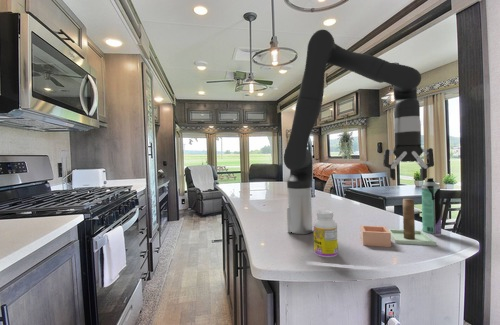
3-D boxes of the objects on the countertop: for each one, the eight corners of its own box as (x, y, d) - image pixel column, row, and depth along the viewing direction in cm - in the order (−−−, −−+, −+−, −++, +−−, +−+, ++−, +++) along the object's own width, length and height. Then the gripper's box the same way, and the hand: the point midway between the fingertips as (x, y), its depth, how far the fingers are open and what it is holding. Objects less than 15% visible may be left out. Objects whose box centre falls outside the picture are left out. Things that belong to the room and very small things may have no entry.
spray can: (444, 236, 88) (443, 178, 88) (427, 236, 90) (425, 178, 89) (436, 231, 94) (435, 177, 94) (420, 231, 95) (418, 177, 95)
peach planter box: (363, 247, 80) (362, 231, 80) (360, 240, 88) (360, 225, 88) (391, 249, 78) (390, 233, 78) (385, 241, 85) (385, 226, 85)
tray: (395, 245, 81) (395, 240, 81) (387, 234, 93) (386, 229, 93) (436, 248, 78) (436, 242, 78) (421, 235, 90) (421, 230, 90)
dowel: (405, 239, 84) (404, 199, 84) (402, 236, 87) (401, 198, 87) (416, 239, 83) (415, 200, 83) (413, 236, 86) (412, 198, 86)
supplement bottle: (311, 252, 78) (309, 210, 78) (332, 250, 78) (331, 209, 78) (318, 260, 71) (317, 214, 71) (341, 259, 72) (340, 213, 72)
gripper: (385, 131, 84) (386, 181, 84) (436, 129, 79) (437, 181, 80) (381, 133, 91) (382, 179, 91) (428, 131, 87) (428, 179, 87)
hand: (407, 180), depth 85 cm, fingers open, 8 cm apart
